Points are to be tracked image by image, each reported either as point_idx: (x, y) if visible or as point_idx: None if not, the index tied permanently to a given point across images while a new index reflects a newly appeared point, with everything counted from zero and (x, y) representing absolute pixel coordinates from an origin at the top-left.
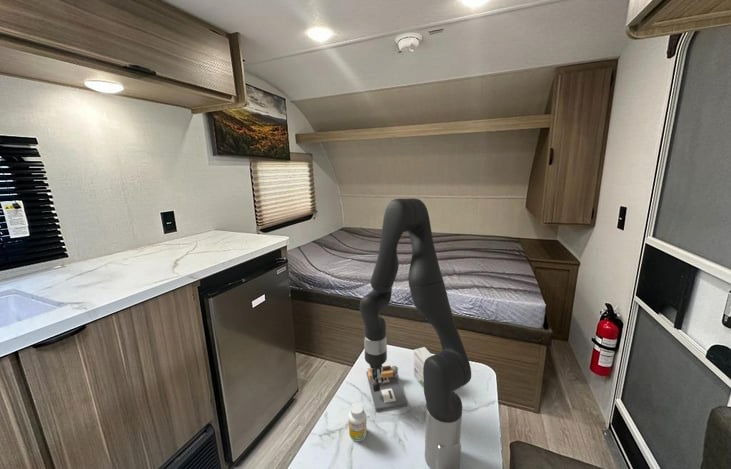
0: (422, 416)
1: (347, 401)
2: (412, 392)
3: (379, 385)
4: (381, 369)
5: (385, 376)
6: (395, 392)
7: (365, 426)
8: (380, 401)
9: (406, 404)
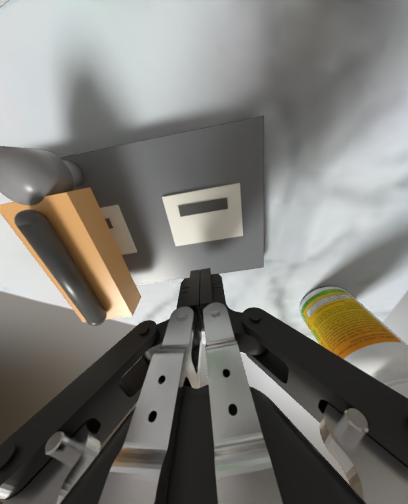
0: (347, 17)
1: None
2: (162, 60)
3: (211, 287)
4: (279, 497)
5: (106, 235)
6: (186, 179)
7: (374, 317)
8: (234, 249)
9: (260, 122)
